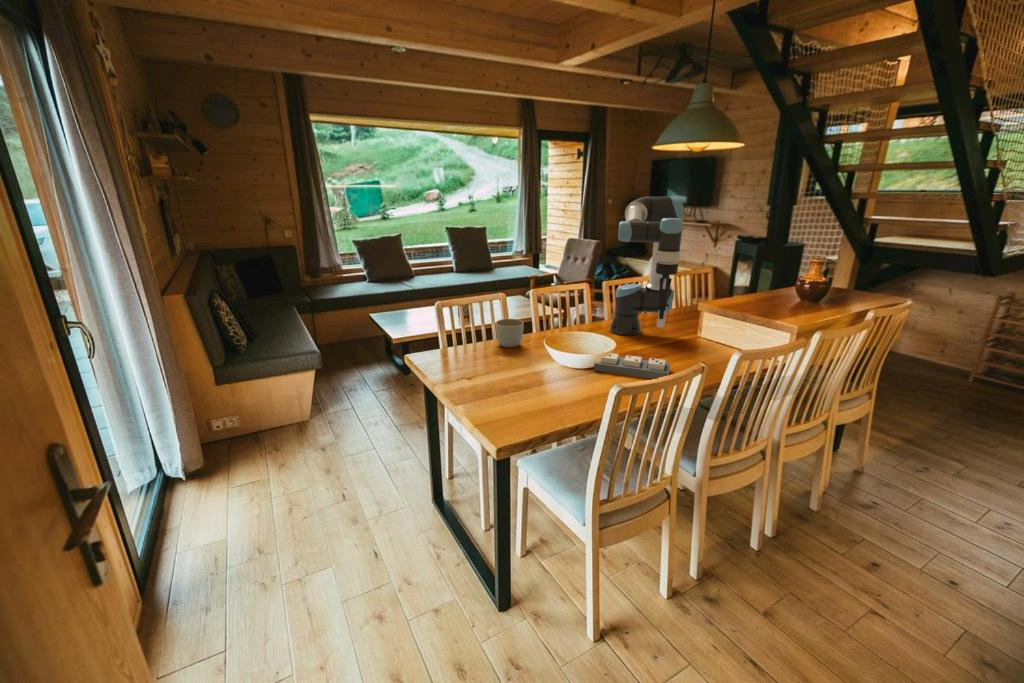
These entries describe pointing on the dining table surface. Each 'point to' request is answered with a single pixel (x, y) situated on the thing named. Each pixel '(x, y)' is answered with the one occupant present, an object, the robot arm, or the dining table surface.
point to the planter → (509, 332)
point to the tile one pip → (610, 359)
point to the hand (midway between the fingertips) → (660, 325)
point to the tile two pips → (632, 361)
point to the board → (632, 369)
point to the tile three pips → (656, 364)
